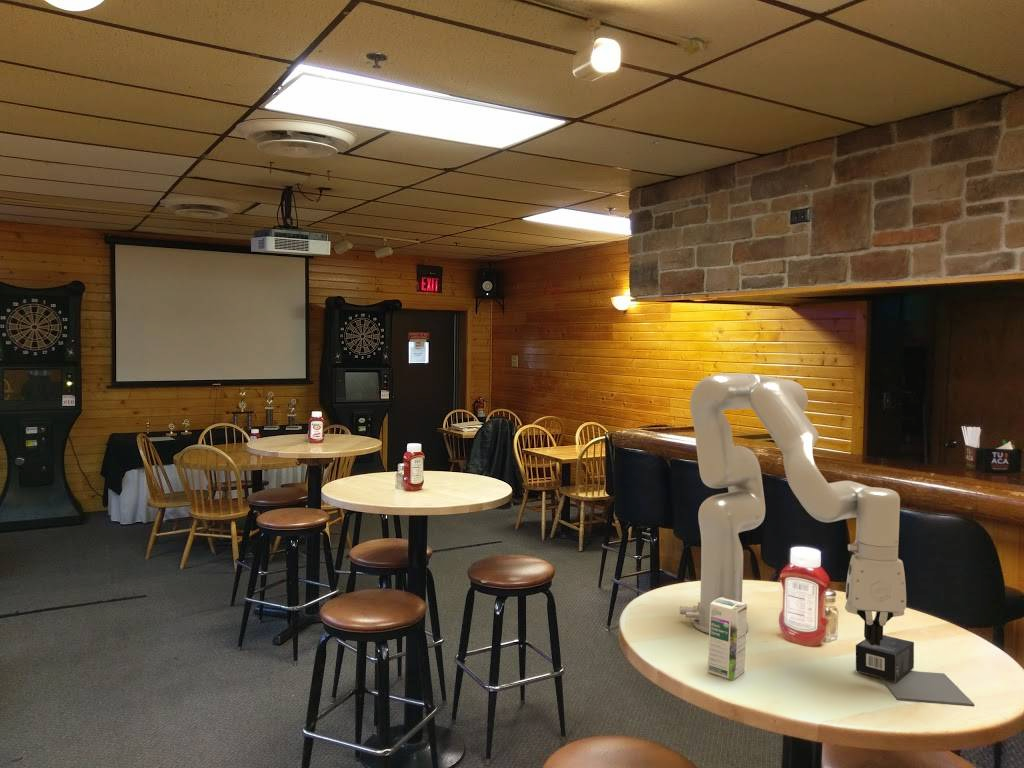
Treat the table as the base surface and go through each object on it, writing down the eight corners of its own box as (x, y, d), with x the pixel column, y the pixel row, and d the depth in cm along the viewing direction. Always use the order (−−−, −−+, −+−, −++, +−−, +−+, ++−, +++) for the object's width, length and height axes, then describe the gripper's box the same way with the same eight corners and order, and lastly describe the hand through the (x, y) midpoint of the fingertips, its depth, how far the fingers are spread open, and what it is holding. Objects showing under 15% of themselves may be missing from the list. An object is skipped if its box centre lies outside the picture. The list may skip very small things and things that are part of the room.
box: (895, 683, 145) (914, 668, 152) (895, 654, 145) (914, 641, 152) (854, 671, 151) (875, 658, 158) (854, 644, 151) (875, 631, 158)
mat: (897, 699, 140) (897, 697, 140) (873, 670, 153) (874, 668, 153) (974, 706, 138) (974, 703, 138) (944, 675, 151) (944, 673, 151)
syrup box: (706, 672, 150) (708, 602, 149) (719, 663, 155) (721, 595, 154) (733, 681, 146) (735, 609, 146) (745, 671, 151) (748, 602, 150)
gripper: (841, 554, 142) (838, 647, 143) (924, 558, 140) (921, 653, 141) (831, 544, 150) (828, 633, 151) (910, 548, 148) (906, 638, 149)
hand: (873, 642), depth 146 cm, fingers closed
